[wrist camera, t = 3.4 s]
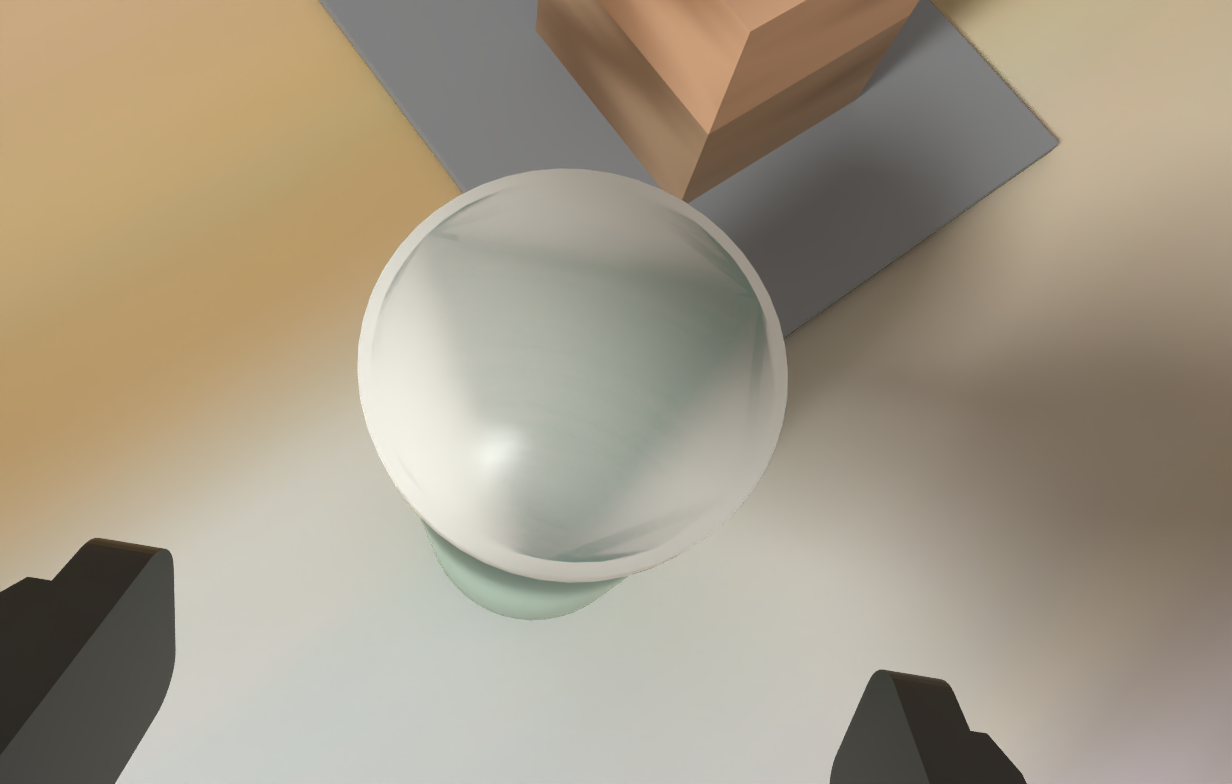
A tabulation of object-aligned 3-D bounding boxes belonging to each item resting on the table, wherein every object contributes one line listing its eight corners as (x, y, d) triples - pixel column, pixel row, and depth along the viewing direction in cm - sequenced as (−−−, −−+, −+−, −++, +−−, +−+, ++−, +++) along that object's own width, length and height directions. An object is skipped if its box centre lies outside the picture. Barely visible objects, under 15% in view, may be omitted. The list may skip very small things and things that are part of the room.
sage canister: (376, 484, 19) (271, 301, 10) (561, 363, 21) (623, 103, 11) (506, 676, 19) (525, 673, 9) (690, 537, 20) (871, 412, 11)
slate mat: (313, -6, 23) (311, -18, 23) (734, -201, 27) (737, -213, 26) (644, 435, 21) (646, 430, 20) (1050, 151, 25) (1059, 142, 24)
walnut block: (536, 30, 23) (542, -68, 20) (716, -63, 25) (748, -166, 22) (677, 209, 22) (708, 134, 19) (856, 99, 24) (910, 15, 21)
